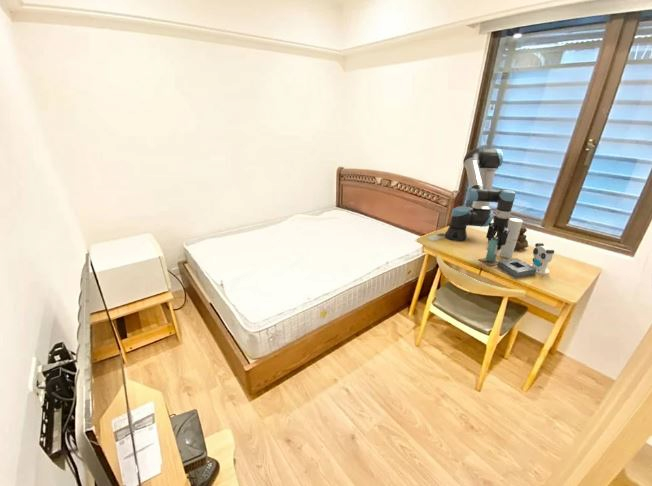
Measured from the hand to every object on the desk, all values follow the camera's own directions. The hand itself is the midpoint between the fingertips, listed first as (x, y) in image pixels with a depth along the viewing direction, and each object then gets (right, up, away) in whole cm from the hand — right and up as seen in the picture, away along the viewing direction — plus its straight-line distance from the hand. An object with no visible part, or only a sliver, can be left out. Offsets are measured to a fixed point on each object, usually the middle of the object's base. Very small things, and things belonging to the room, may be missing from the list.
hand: (492, 251), depth 183 cm
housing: (+10, -11, -6) cm, 16 cm away
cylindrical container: (+16, -3, +12) cm, 20 cm away
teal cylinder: (0, -5, +2) cm, 5 cm away
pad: (0, -7, +3) cm, 7 cm away
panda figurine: (+25, -11, -4) cm, 28 cm away
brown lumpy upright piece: (+27, +3, +26) cm, 37 cm away
